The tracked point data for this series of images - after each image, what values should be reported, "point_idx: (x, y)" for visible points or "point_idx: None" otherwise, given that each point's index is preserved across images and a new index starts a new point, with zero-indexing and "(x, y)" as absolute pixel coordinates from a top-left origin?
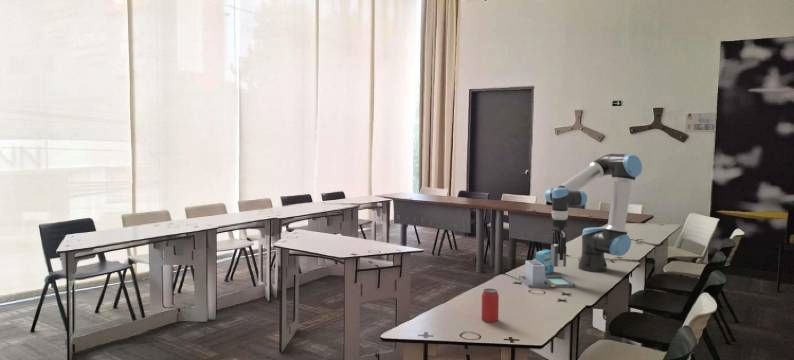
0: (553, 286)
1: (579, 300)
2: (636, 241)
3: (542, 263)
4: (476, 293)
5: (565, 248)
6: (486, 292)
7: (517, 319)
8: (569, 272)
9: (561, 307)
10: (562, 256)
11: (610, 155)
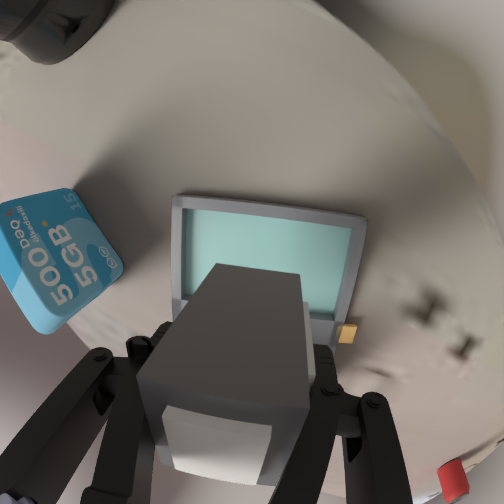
0: (353, 333)
1: (491, 296)
2: None
3: (93, 296)
4: None
5: (396, 437)
6: (459, 499)
7: (473, 439)
8: (89, 115)
9: (493, 365)
10: (332, 373)
11: None
